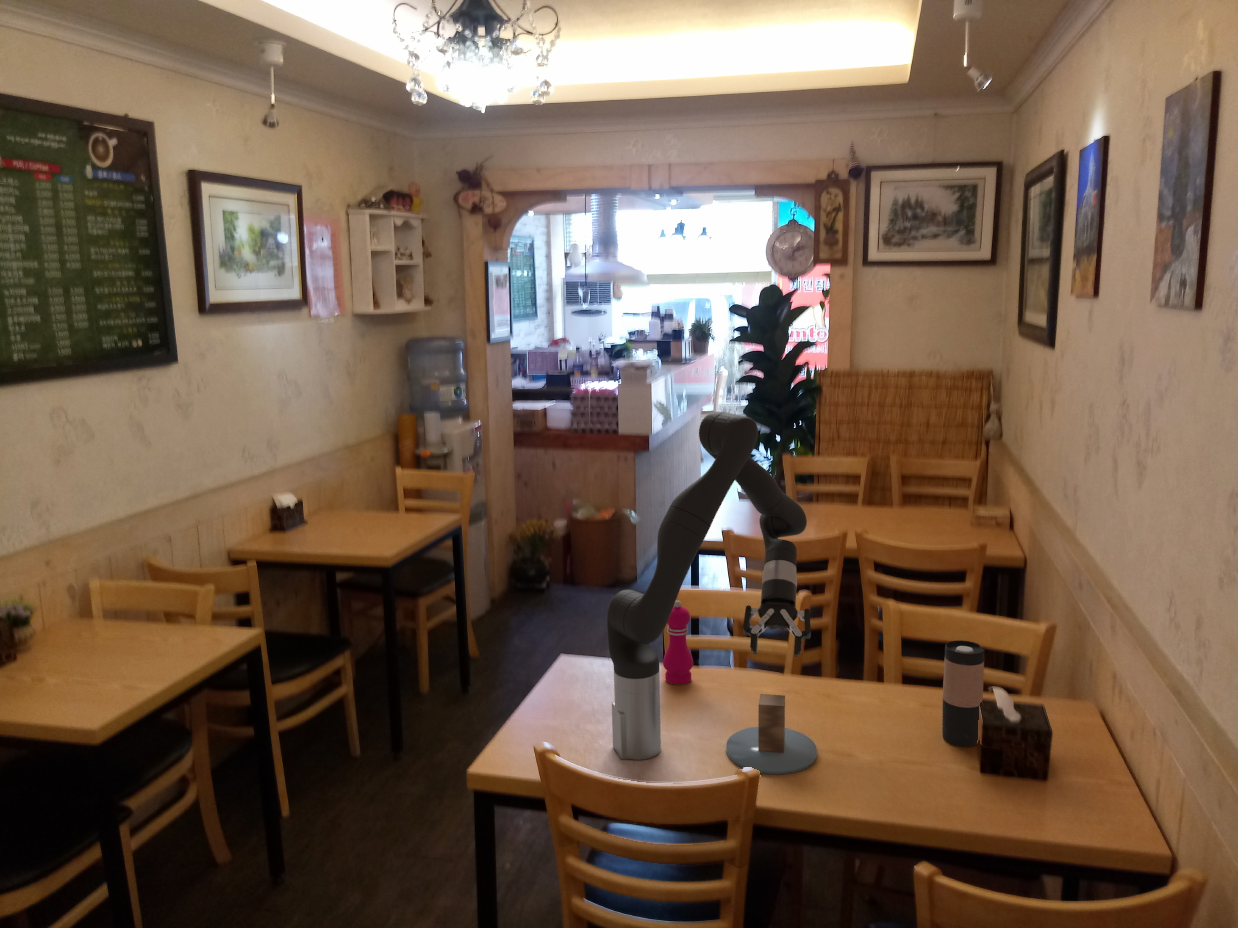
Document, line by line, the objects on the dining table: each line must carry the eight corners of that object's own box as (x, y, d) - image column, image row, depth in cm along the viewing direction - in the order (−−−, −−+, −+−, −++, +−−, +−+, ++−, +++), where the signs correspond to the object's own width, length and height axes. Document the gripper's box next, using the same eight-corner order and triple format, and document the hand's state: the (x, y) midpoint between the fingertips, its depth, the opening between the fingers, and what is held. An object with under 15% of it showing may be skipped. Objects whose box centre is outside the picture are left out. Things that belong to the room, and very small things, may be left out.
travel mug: (934, 739, 191) (938, 647, 188) (950, 726, 197) (954, 637, 193) (971, 751, 186) (975, 656, 183) (986, 737, 192) (991, 645, 188)
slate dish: (749, 780, 177) (749, 775, 177) (712, 739, 194) (712, 733, 194) (833, 765, 182) (833, 759, 182) (790, 725, 199) (790, 720, 199)
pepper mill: (691, 686, 220) (690, 606, 217) (661, 684, 222) (659, 604, 218) (695, 674, 227) (694, 596, 224) (665, 672, 229) (664, 595, 225)
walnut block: (758, 750, 186) (758, 704, 184) (760, 739, 191) (760, 693, 189) (783, 752, 185) (784, 705, 183) (784, 741, 190) (785, 695, 188)
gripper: (745, 575, 204) (740, 644, 195) (812, 578, 200) (809, 649, 191) (747, 591, 210) (742, 659, 201) (812, 594, 206) (810, 663, 197)
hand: (775, 654), depth 196 cm, fingers open, 8 cm apart
